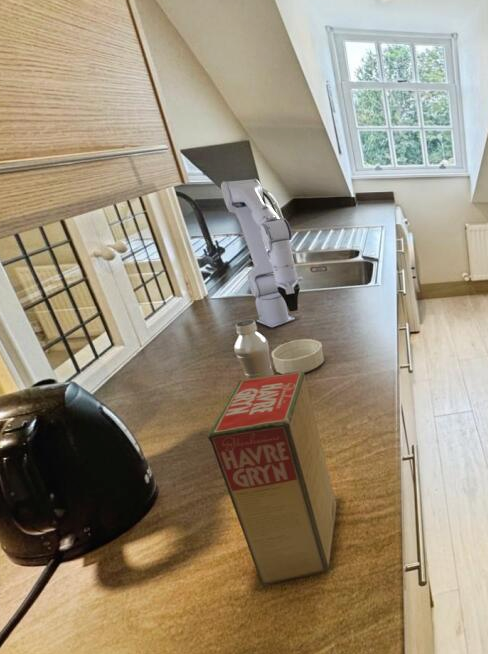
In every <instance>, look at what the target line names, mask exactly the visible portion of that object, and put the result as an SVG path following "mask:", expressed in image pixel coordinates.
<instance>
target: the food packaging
mask: <svg viewBox="0 0 488 654" xmlns="http://www.w3.org/2000/svg"><path fill="white" fill-rule="evenodd" d="M207 438H208V440H209V442H210V444H211V447H212V450H213V452H214V456H215V458H216V461H217V464H218V467H219V470H220V472H221V476H222V478H223V480H224V484H225V486H226V489H227V492H228V494H229V497H230V500H231V503H232V506H233V508H234V512H235V514H236V517H237V520H238V522H239V525H240V528H241V531H242V534H243V537H244V538H245V542H246V545H247V547H248V551H249V553H250V556H251V558H252V562H253V566H254V567H255V568H254V569H255V571H256V573H257V576H258V579H259V582H260V586H268V585H273V584H278V583H282V582H286V581H290V580H291V581H292V580H294V579H300V578H304V577H309V576H314V575H318V574H322V573H325V572H327V571H328V570H329V568H330V562H331V554H332V548H333V547H332V546H333V538H334V532H335V531H334V530H335V523H336V515H337V499H336V497H335V493H334V490H333V486H332V481H331V478H330V473H329V469H328V465H327V460H326V457H325V453H324V448H323V444H322V440H321V437H320V432H319V429H318V425H317V421H316V417H315V412H314V408H313V404H312V400H311V396H310V392H309V388H308V383H307V380H306V375H305V373H303V372H301V371H298V372H290V373H284V374H281V373H279V374H274V375H271V376H266V377H258V378H251V379H246V378H245V379H240V380H238V381H237V384H236V387H234V389H233V391H232V392H231V393H230V395H229V397H228V401H227V404H226V405H225V407H224V408H223V410H222V412H220V414H219V416H218V417H217V418H216V421H215V423H214V425H213V426H212V428H211V431H210V432H209V434H207Z"/></svg>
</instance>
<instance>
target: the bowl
mask: <svg viewBox="0 0 488 654" xmlns="http://www.w3.org/2000/svg"><path fill="white" fill-rule="evenodd" d="M324 355H325V354H324V351H323V345H322V343H321V341H318V340H316V339H310V338H307V339H304V338H303V339H296V340H291V341H288V342H285V343H283V344H280V345H278V346H277V347H275V348H274V349H273V350H272V351H271V355H270V357H271V359H272V364H273V368H274V370H275V371H276V372H277V373H279V374H284V373H290V372H298V371H301V372H303V373H304V374H305V373H307V372H310V371H313V370H315V369H316V368H318V367H319V366H321V365H322V364H323V362H324V361H325V356H324Z"/></svg>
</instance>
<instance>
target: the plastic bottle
mask: <svg viewBox="0 0 488 654" xmlns="http://www.w3.org/2000/svg"><path fill="white" fill-rule="evenodd" d="M235 329H236V334H237V335H238V336H237V338H236V340H235V343H234V345H233V351H234V353H235V356H236V358H237V359H238V361H239V363H240V366H241V369H242V371H243V373H244V376H245V379H251V378H258V377H266V376H271V375H275V374H274V371H273V368H272V363H271V358H270V357H271V355H270V346H269V341H268V340H267V338H266V337H265V336H264V335H263V334H261V333H260V332H258V325H257V323H256V321H255V319H244V320H241V321H238V322H237V323H235Z"/></svg>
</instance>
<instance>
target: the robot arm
mask: <svg viewBox="0 0 488 654" xmlns="http://www.w3.org/2000/svg"><path fill="white" fill-rule="evenodd" d="M220 190H221V195H222V198H223V200H224V204H225V206H226V208H227V210H228V212H229V213H232V214H235V216H236V218H237V220H238V222H239V225H240V228H241V230H242V233H243V237H244V240H245V243H246V246H247V249H248V251H249V255H250V258H251V260H252V264H253V267H252V268H251V270H250V271H249V272H248V274H247V280H248V286H249V289H250V292H251V295H252V296H253V297H255V302H254V303H255V307H256V311H257V315H258V319H257V320H256V322H257V323H259V324H262V325H264V326H267V327H269V328H276V327H278V326H281V325H284V324H286V323H289V322H292V321H294V320H296V318H295V317H293V316H291V315H289V312H290V313H291V312H296V311H298V308H299V303H298V301H299V293H300V290H301V287H300V285H299V282H302V281H303V277H302V276H298V273H297V269H296V264H295V260H294V255H293V251H292V250H293V249H292V245H291V240H292V238H293V233H292V228H291V225H290V223H289V221H288V220H287V219H286V218H283V217H279V215H278V214H277V213H276V211H275V210H274V209H273V207H272V206H270V204H266V203H265V202H264V201H263V200H264V199H263V198H264V191H263V187H262V184H261V182H260V181H259V180H258V179H256V178H252V179H242V180H232V181H222V182H221V184H220ZM288 311H289V312H288Z"/></svg>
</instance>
